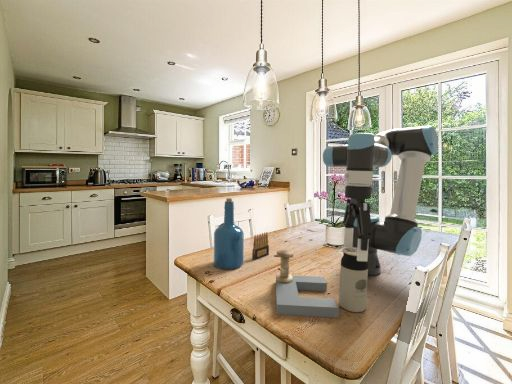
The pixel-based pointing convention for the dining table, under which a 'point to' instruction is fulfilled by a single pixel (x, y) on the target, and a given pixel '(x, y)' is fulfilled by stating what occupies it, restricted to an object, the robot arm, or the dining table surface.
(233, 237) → the wine bottle
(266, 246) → the ammunition clip
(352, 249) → the travel mug
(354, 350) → the dining table surface
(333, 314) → the notched board
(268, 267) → the dining table surface
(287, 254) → the birch bobbin
